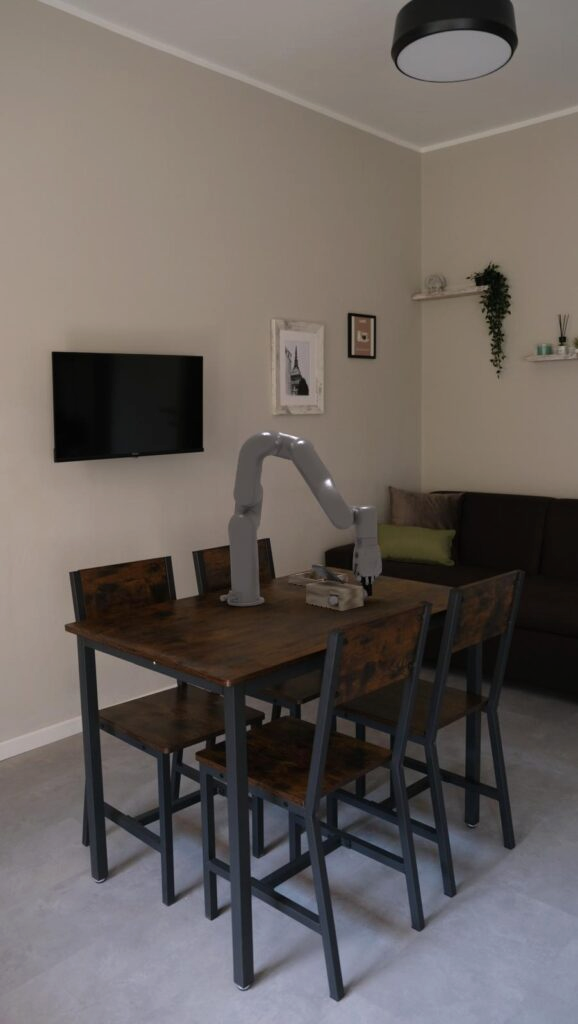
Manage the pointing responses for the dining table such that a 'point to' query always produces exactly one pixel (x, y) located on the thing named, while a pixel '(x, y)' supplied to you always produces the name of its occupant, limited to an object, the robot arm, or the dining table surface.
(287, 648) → the dining table surface
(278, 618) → the dining table surface
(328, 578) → the flap
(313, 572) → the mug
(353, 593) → the block
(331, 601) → the pin
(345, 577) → the coaster frame
